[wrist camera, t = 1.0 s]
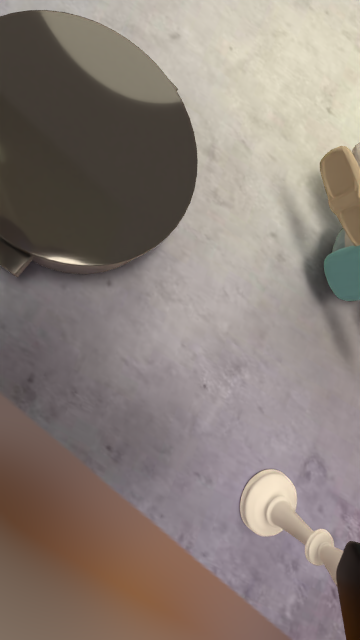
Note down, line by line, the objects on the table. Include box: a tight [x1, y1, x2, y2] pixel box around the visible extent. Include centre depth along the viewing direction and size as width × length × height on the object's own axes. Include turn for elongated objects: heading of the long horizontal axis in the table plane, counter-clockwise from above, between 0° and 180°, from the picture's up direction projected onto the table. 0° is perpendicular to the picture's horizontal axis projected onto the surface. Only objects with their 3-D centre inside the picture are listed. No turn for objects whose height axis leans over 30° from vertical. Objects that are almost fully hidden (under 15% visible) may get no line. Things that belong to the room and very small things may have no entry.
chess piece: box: [240, 469, 343, 586], centre depth 21 cm, size 5×5×10 cm
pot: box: [0, 10, 197, 277], centre depth 18 cm, size 15×13×5 cm
